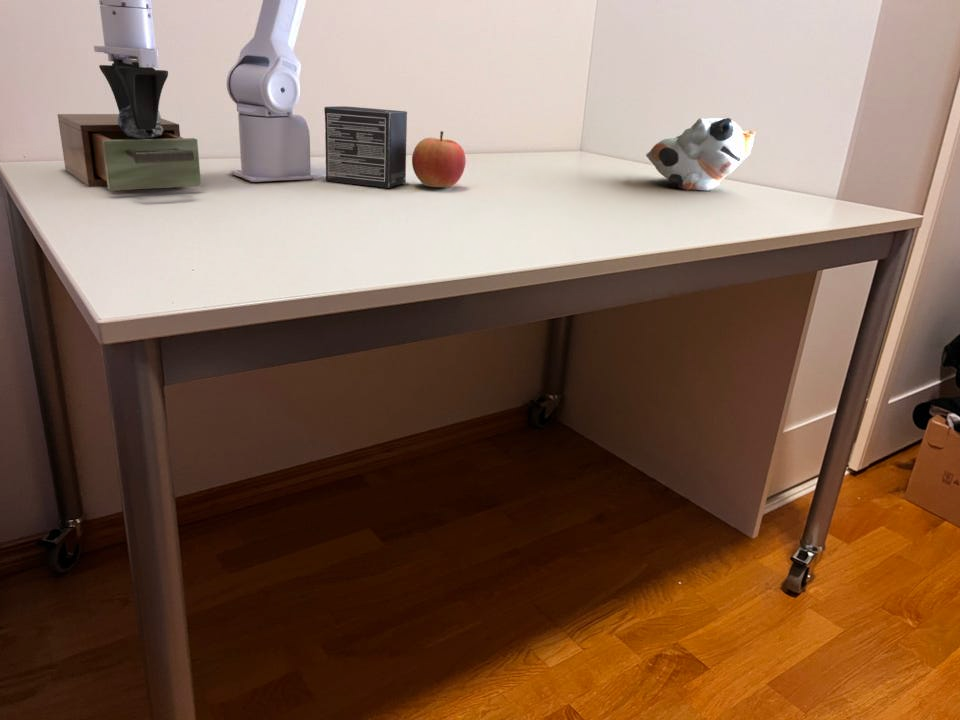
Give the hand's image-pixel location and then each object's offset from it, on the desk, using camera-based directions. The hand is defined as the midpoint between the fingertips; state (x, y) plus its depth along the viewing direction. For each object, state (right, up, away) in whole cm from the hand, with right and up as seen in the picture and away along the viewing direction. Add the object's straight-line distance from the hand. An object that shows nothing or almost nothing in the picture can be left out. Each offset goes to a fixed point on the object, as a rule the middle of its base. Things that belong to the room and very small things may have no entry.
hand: (139, 126), depth 96 cm
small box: (+26, -3, +17) cm, 31 cm away
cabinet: (-7, -4, +10) cm, 13 cm away
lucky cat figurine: (+79, 0, +33) cm, 86 cm away
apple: (+37, -4, +17) cm, 41 cm away
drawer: (+1, -7, +1) cm, 7 cm away
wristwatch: (0, -2, 0) cm, 2 cm away
